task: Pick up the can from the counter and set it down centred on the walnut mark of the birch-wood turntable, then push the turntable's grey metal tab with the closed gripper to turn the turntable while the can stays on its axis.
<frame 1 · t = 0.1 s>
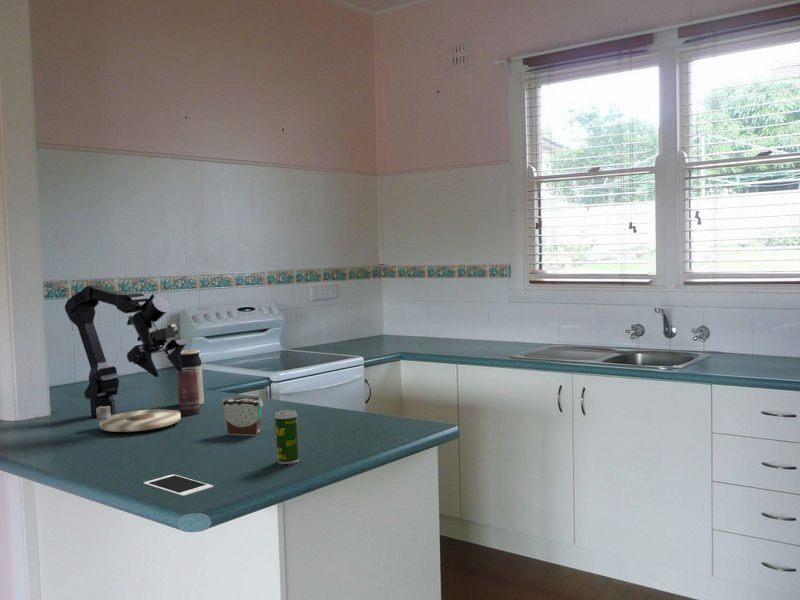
hand: (169, 373, 238), 15 cm above the table, tool tilted 35°, fingers open, 9 cm apart
turntable: (138, 414, 236), point 4 cm above the table, hinge at 0.0°
travel mug: (191, 405, 267), on the table
can: (190, 414, 252), on the table
turntable base: (141, 426, 236), on the table
food container: (247, 433, 222), on the table
beer can: (288, 462, 189), on the table
cell phone: (178, 487, 175), on the table
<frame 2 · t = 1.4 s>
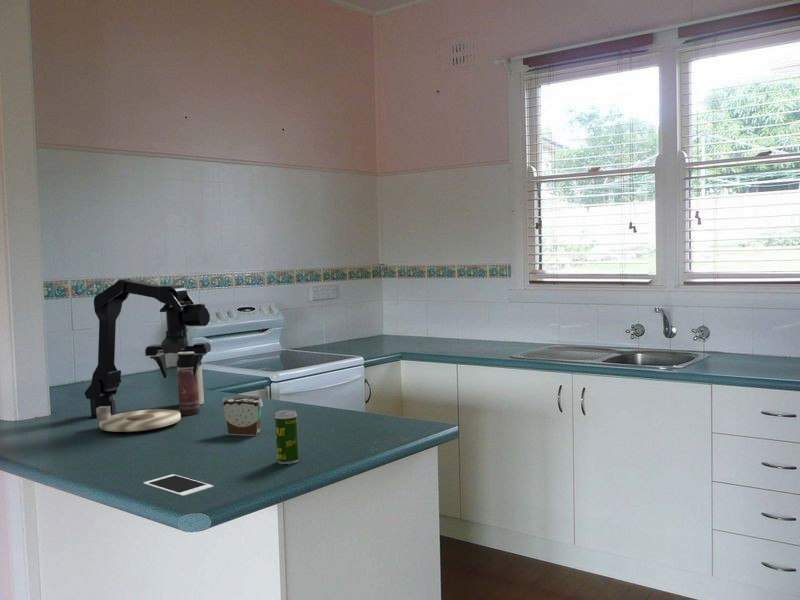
hand: (180, 377, 243), 13 cm above the table, tool pointing down, fingers open, 9 cm apart
nothing on the table moved.
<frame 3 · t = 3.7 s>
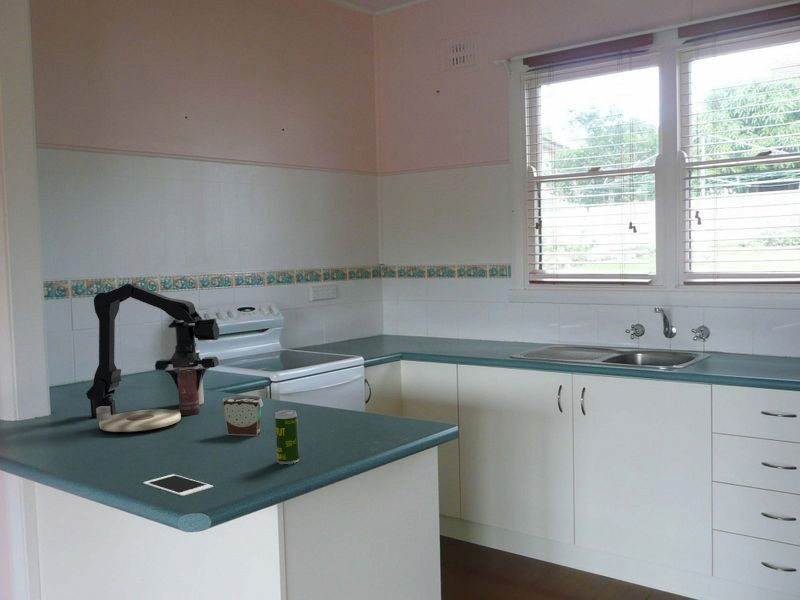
hand: (188, 390, 251), 8 cm above the table, tool pointing down, fingers closed on can, 6 cm apart
can: (190, 414, 252), on the table, touching gripper
everything else where it was.
when the fingers open (11 cm above the table, at t = 7.3 s): can stays where it is, resting on turntable.
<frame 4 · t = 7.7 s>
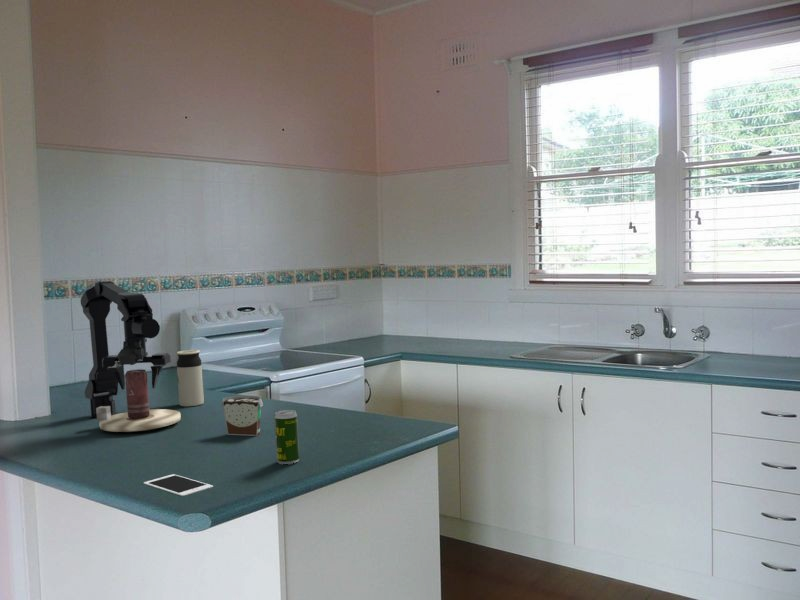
hand: (138, 388, 235), 11 cm above the table, tool pointing down, fingers open, 9 cm apart
turntable: (138, 414, 236), point 4 cm above the table, hinge at 0.0°, touching can
can: (139, 417, 236), point 3 cm above the table, touching turntable
everything else where it was.
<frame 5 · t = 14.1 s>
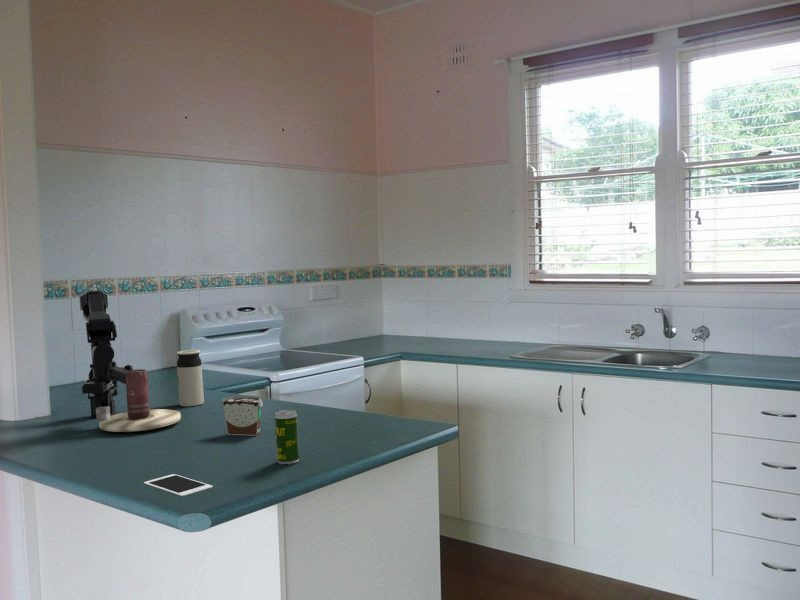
hand: (106, 410, 238), 5 cm above the table, tool pointing down, fingers closed
turntable: (138, 414, 236), point 4 cm above the table, hinge at 1.9°, touching can, gripper
everything else where it was.
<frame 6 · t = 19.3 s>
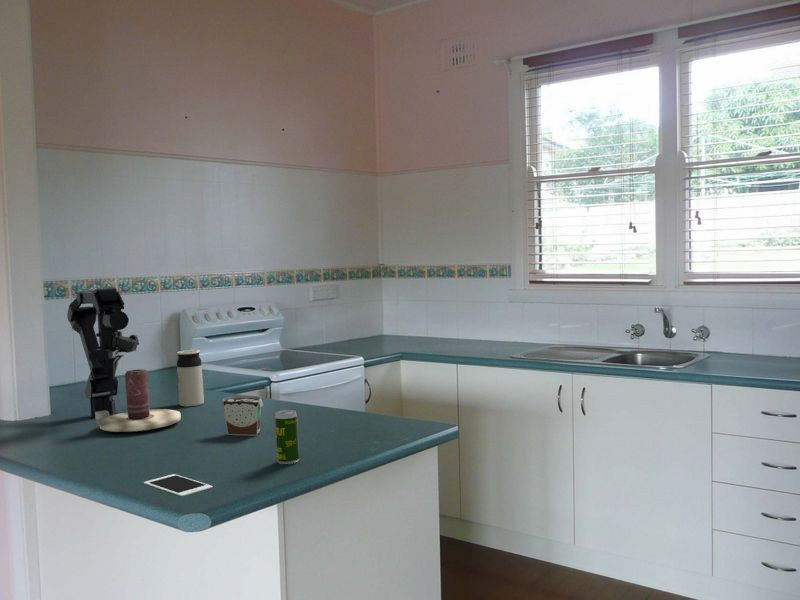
hand: (112, 379, 245), 13 cm above the table, tool pointing down, fingers closed
turntable: (138, 414, 236), point 4 cm above the table, hinge at 39.9°, touching can
at the end: can 0.3 cm from the turntable (horizontally); can tilted 1°; turntable at +40° (first picture: +0°) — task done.
